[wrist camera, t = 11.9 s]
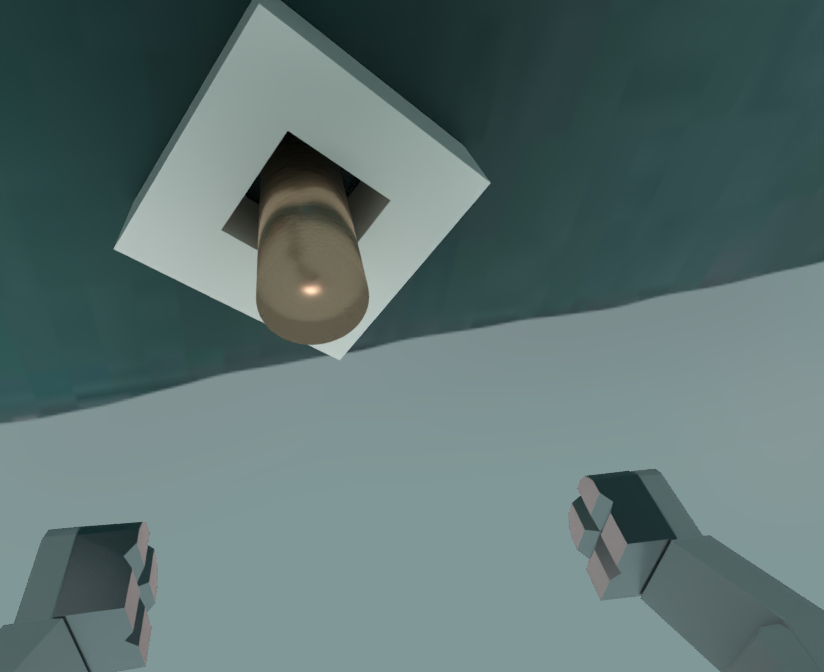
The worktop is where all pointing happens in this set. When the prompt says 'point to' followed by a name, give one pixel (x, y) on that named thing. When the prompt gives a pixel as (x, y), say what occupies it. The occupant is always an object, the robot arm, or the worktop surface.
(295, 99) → the fitting block
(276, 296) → the wooden peg
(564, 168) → the worktop surface
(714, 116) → the worktop surface
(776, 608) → the robot arm
